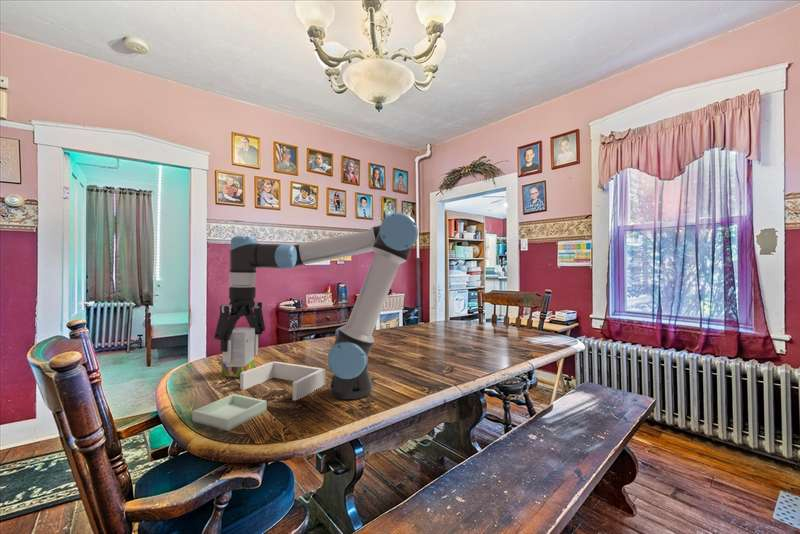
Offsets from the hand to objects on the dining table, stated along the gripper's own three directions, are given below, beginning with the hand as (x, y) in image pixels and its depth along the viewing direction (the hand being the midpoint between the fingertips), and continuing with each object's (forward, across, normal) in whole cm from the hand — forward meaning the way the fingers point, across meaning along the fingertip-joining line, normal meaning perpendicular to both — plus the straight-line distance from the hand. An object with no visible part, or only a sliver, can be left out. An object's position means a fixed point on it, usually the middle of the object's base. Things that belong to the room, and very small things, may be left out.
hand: (240, 358), depth 104 cm
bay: (+16, -20, -1) cm, 26 cm away
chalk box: (+16, -24, -28) cm, 40 cm away
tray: (+16, +4, +2) cm, 17 cm away
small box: (+2, 0, 0) cm, 2 cm away
